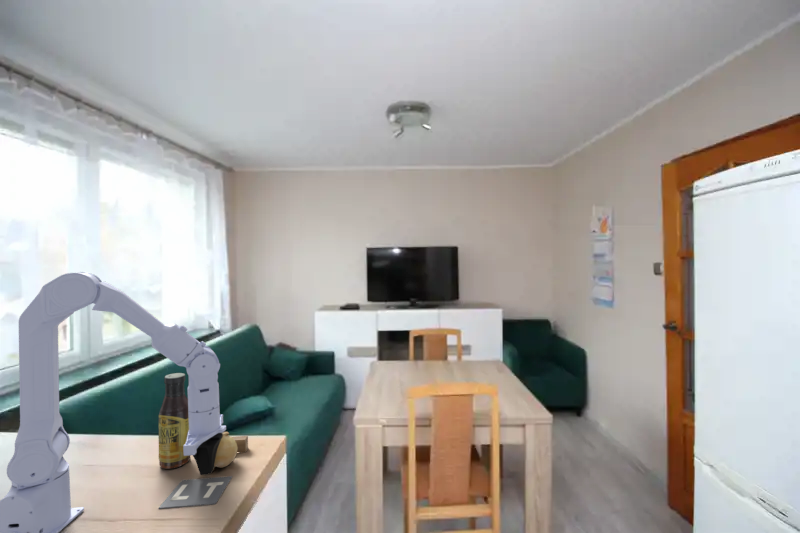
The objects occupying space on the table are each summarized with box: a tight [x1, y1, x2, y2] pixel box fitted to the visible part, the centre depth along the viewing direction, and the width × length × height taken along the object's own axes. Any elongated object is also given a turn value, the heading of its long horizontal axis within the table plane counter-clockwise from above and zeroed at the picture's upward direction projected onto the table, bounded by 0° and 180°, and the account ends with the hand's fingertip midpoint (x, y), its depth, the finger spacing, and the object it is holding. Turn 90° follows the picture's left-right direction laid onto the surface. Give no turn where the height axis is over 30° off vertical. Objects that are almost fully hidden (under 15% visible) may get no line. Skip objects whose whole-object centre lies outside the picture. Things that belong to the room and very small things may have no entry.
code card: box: [158, 475, 233, 510], centre depth 75 cm, size 9×10×1 cm
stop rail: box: [231, 435, 249, 453], centre depth 91 cm, size 2×9×3 cm, turn 95°
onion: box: [213, 430, 238, 471], centre depth 85 cm, size 8×8×7 cm
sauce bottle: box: [158, 372, 191, 470], centre depth 86 cm, size 7×6×20 cm
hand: (206, 473), depth 79 cm, fingers closed
